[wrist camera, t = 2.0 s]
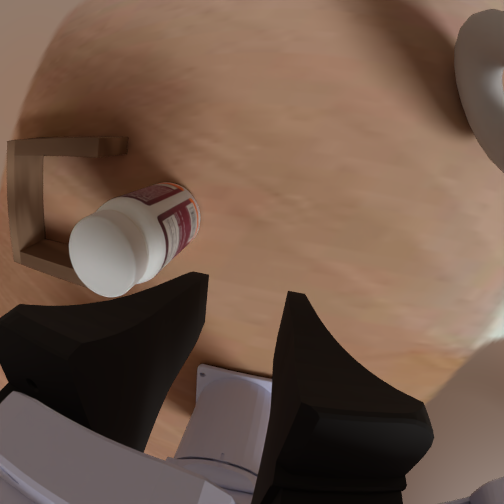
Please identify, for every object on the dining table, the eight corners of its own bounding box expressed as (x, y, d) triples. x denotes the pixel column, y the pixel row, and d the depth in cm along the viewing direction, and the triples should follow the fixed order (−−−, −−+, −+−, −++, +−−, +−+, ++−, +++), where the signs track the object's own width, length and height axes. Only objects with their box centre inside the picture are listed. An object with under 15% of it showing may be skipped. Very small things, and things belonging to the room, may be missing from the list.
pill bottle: (129, 215, 21) (51, 255, 13) (166, 167, 19) (88, 185, 11) (173, 261, 21) (112, 322, 14) (216, 216, 20) (162, 263, 12)
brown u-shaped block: (123, 272, 23) (99, 291, 19) (38, 248, 24) (13, 261, 20) (128, 137, 19) (98, 138, 16) (36, 137, 20) (7, 140, 17)
